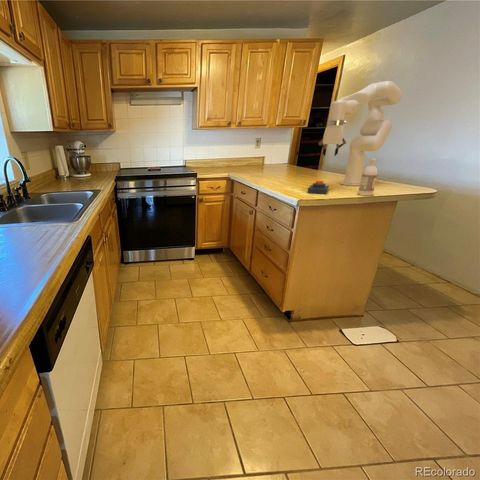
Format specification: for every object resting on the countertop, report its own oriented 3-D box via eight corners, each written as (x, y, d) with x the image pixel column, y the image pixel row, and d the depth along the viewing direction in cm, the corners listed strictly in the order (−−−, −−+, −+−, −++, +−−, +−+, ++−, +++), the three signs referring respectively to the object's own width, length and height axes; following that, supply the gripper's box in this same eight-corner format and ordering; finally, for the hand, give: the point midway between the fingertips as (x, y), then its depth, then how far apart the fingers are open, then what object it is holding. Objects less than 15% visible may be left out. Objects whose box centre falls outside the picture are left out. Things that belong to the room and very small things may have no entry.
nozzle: (315, 183, 168) (316, 180, 167) (323, 184, 166) (323, 180, 165) (315, 184, 165) (315, 181, 164) (322, 185, 163) (323, 181, 162)
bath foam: (369, 196, 150) (378, 159, 143) (355, 194, 156) (363, 159, 148) (374, 194, 154) (383, 158, 146) (360, 192, 159) (369, 158, 152)
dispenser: (310, 189, 175) (311, 181, 173) (328, 190, 169) (329, 182, 167) (307, 193, 165) (308, 185, 163) (326, 194, 159) (327, 186, 158)
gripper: (352, 123, 156) (346, 155, 163) (319, 124, 166) (314, 155, 172) (352, 122, 151) (345, 156, 157) (318, 124, 160) (313, 156, 167)
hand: (329, 155), depth 165 cm, fingers open, 5 cm apart
